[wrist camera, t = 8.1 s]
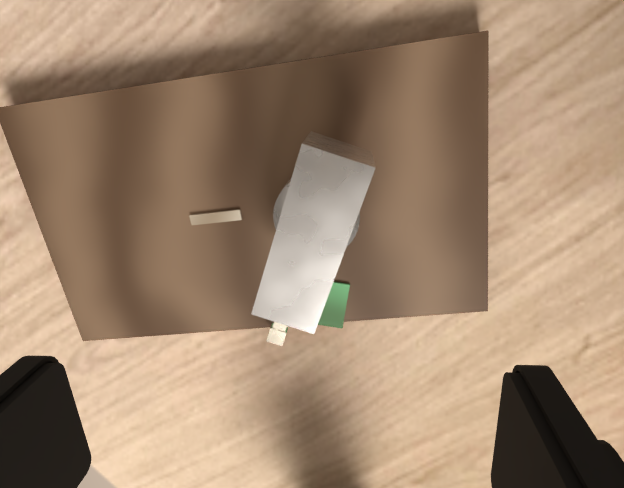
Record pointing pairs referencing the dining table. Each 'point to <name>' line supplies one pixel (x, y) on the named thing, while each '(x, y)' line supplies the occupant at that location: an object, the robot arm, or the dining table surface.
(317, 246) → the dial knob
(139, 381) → the dining table surface
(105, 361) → the dining table surface
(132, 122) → the board
